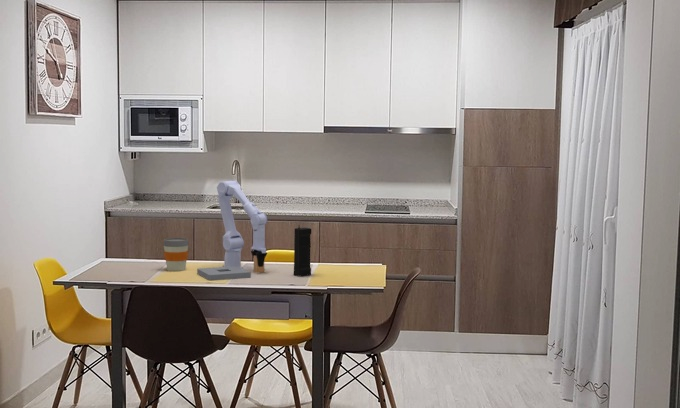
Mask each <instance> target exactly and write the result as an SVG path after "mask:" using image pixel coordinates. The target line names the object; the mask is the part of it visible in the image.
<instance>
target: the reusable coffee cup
mask: <svg viewBox="0 0 680 408" xmlns="http://www.w3.org/2000/svg"><path fill="white" fill-rule="evenodd" d="M162 244H163V245H162V246H163V249H164V250H163V255H164V261H165V264H166V271H169V272H183V271H185V270H186V269H187V261H188V257H189V245H190V243H189V238H185V237H171V238H165V239H163V243H162Z"/></svg>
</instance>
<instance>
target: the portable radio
mask: <svg viewBox="0 0 680 408" xmlns="http://www.w3.org/2000/svg"><path fill="white" fill-rule="evenodd" d="M311 235H312V228H310V227H300V226H298V227H297V228H294V235H293V236H294V244H293V245H294V246H293V247H294V248H293V250H294V251H293V252H294V253H293V276H296V277H307V276H311V275H312V268H311V247H312V244H311V243H312V242H311Z"/></svg>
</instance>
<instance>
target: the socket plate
mask: <svg viewBox="0 0 680 408" xmlns="http://www.w3.org/2000/svg"><path fill="white" fill-rule="evenodd" d="M196 269H197V270H196V272H197V275H199V276H201V278H202V277H203V278H204V279H206V280H208V281H210V282H211V281H222V280H233V279H248V278H250V279H251V277H252V272H251V271H249V270H247V269H245V268H244V267H243V268H240V267H238V266H228V267H223V266H216V267H202V268H201V267H200V268H196Z"/></svg>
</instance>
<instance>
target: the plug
mask: <svg viewBox="0 0 680 408" xmlns="http://www.w3.org/2000/svg"><path fill="white" fill-rule="evenodd" d="M253 272H254V273H256V274H258V273H265V263H264V264H263V267H258V260H257V256H256V255H254V258H253Z"/></svg>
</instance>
